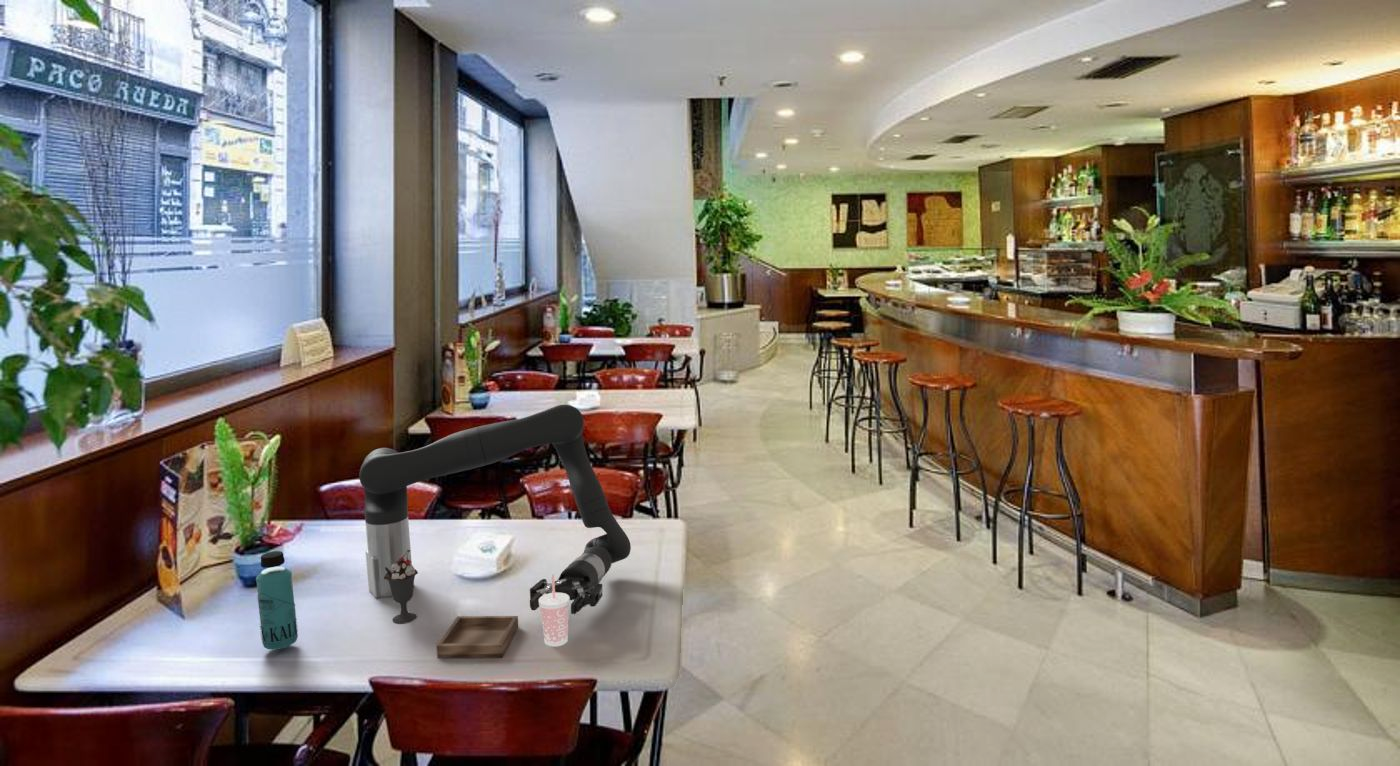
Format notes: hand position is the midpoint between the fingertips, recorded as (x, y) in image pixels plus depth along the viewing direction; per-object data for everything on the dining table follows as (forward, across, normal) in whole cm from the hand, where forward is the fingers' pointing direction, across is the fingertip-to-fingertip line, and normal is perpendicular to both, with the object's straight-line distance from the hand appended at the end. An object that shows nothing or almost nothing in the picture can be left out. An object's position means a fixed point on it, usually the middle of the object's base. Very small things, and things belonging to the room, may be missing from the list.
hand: (552, 607), depth 157 cm
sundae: (-4, -36, +8) cm, 37 cm away
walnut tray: (+3, -15, +8) cm, 17 cm away
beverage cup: (-1, 0, +8) cm, 8 cm away
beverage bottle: (+13, -53, +8) cm, 55 cm away
